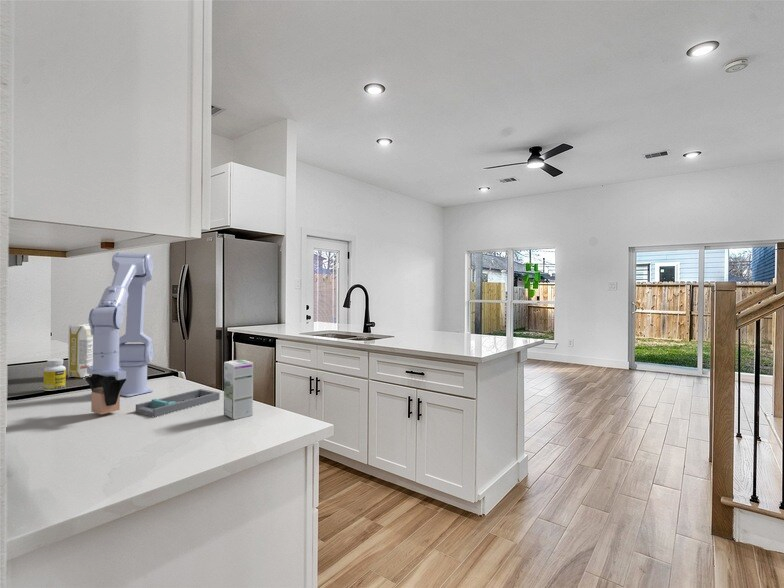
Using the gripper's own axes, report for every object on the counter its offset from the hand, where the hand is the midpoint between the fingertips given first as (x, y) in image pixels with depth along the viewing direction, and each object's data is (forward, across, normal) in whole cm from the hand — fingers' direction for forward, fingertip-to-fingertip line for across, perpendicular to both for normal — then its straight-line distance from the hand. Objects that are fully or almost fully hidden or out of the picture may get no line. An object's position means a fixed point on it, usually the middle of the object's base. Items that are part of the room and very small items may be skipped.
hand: (105, 403), depth 106 cm
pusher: (+2, +9, +11) cm, 14 cm away
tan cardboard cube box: (+2, 0, 0) cm, 2 cm away
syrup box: (+3, +30, +17) cm, 35 cm away
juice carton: (+3, -52, +20) cm, 56 cm away
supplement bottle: (+3, -38, +5) cm, 38 cm away
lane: (+3, +9, +15) cm, 18 cm away
